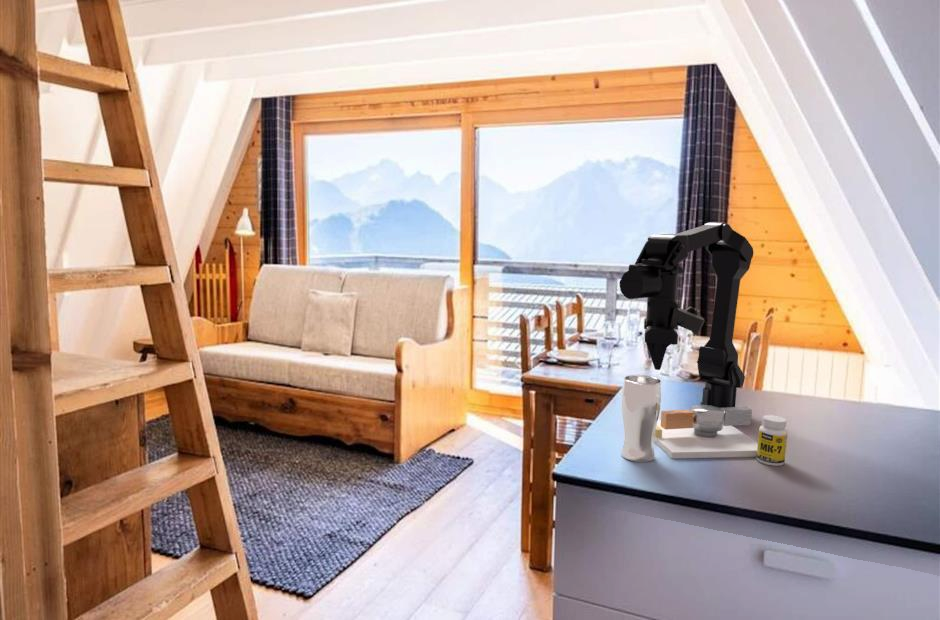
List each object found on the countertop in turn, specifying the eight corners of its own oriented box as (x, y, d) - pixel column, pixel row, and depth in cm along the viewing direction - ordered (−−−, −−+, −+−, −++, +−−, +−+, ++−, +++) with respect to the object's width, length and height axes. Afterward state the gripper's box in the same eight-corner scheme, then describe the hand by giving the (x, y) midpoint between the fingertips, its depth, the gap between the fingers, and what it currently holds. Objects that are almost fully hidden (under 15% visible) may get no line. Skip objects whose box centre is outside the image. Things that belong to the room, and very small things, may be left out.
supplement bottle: (755, 463, 118) (759, 419, 117) (757, 455, 122) (760, 412, 121) (784, 468, 116) (788, 423, 115) (785, 459, 120) (789, 416, 119)
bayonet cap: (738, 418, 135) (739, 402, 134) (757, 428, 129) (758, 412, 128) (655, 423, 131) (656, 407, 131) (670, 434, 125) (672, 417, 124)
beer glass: (636, 466, 116) (641, 386, 114) (611, 453, 122) (615, 376, 120) (665, 459, 119) (670, 381, 117) (639, 447, 125) (643, 373, 123)
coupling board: (720, 423, 140) (721, 411, 140) (768, 456, 122) (769, 442, 121) (636, 425, 139) (636, 412, 138) (671, 458, 120) (672, 444, 119)
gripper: (707, 303, 121) (702, 383, 123) (699, 292, 139) (694, 362, 141) (647, 301, 124) (642, 379, 126) (645, 290, 142) (642, 358, 144)
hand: (657, 369), depth 134 cm, fingers closed
